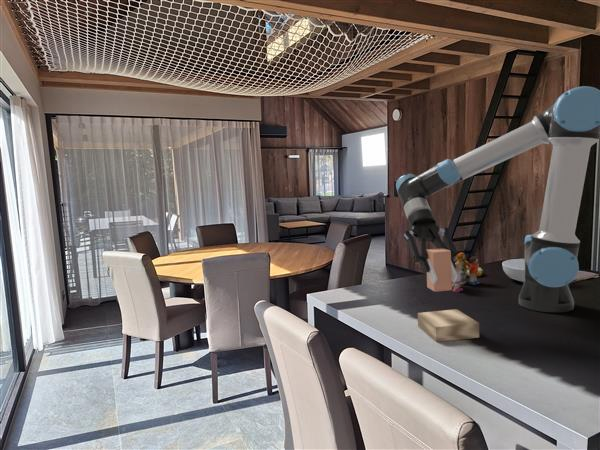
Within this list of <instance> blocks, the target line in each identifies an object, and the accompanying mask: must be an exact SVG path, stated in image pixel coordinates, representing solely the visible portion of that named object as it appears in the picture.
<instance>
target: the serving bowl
mask: <svg viewBox="0 0 600 450" xmlns="http://www.w3.org/2000/svg"><path fill="white" fill-rule="evenodd" d="M501 264H502V270H503V272H504V273H505V274H506V276H507V277H509V278H510V279H513V280H514V281H518V282H520V283H524V281H525V258H514V259H507V260H504V261H502V263H501Z"/></svg>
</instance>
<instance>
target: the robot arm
mask: <svg viewBox="0 0 600 450" xmlns="http://www.w3.org/2000/svg"><path fill="white" fill-rule="evenodd" d="M599 141H600V89H599V88H596V87H593V86H588V85H586V86H585V85H582V86H577V87H573V88H571V89H568V90H567V91H565V92H563V93H561V95H560V96H559V97H558V98H557V99H556V101H555V103H553V104H552V105H551V106H549V107H548V108H546V110H544V111H542V112H541V113H539V114H537V115H534V116H533V119H532V120H531V121H529V122H527V123H526V124H524V125H521V126H520V127H518V128H516V129H513V130H511V131H509V132H508V133H505V134H503V135H501V136H499V137H497V138H495V139H493V140H491V141H489V142H487V143H485V144H483V145H481V146H479V147H477V148H475V149H472V150H471V151H469V152H467V153H465V154H463V155H460V156H459V157H456V158H454V159H453V160H452V159H450V158H446V159H444V160H443V161H441V162H438V163H437V164H436V165H434V166H432V167H430V168H429V169H427V170H426V171H424V172H422V173H421V174H418V175H415V174H412V173H407V174H404V175H402V176H400V177H399V178H398V179H397V181H395V182H396V183H395V187H396V191H397V196H398V197H399V200H400V202H401V206H402V208H403V211H404V213H405V216H406V219H407V222H408V224H409V227H410V229H411V230H405V232H404V235H403V238H404V239H405V241H406V243H407V244H408V248H409V251H410V253H411V254H410V255H411V257H412V260H413V262H414V263H419V265H420V266H422V268H423V269H422V270H423V271H424V272H425V273H427V272H428V274H429V277H430V279H431V282H432V284H435V282H436V281H437V279H438V278H437V276H436V273H435V270H434V268H433V265H432V263H431V260H430V259H427V254H426V250H427V244H426V243H427V242H431V244H432V245H434V246H435V247H436V249H438V248H444V249H447V250H450V251H451V276H452V282H455V281H456V279H457V277H458V275H457V273H456V271H455V268H456V264H455V262H454V259H455V258H456V256H457V255H458V254H459V252H458V250H457V247H456V245H455V243H454V241H453V239H452V237H451V235H450V228H449V227H445V228H441V227H439V226H438V224H437V222H436V219H435V217H434V215H433V212H432V209H431V207H430V206H429V202H428V200H427V198H428V197H430V196H432V195H434V194H436V193H438V192H440V191H441V190H444V189H448V188H450V187H452V186H453V185H455V184H458V183H460V182H461V181H463V180H466V179H468V178H470V177H472V176H474V175H477V174H479V173H481V172H483V171H485V170H488V169H490V168H492V167H494V166H496V165H498V164H501V163H502V162H505V161H507V160H509V159H511V158H513V157H516V156H518V155H520V154H522V153H525V152H527V151H529V150H531V149H533V148H536V147H538V146H540V145H543V144H544V145H550V144H551V145H552V151H551V157H550V163H549V169H548V175H547V182H546V187H545V193H544V200H543V204H542V209H541V210H542V211H541V217H540V221H539V228H538V230H537V231H536V232H534V233H532V234H527V235H526V236H525V237H524V242H523V245H524V259H525V281H524V282H523V285H522V288H521V290H520V292H519V295H518V304H519V305H520V306H521V307H522V308H525V309H528V310H531V311H537V312H543V313H567V312H570V311H572V310H574V308H575V300H574V297H573V294H572V292H571V289H570V287H569V284H571V283H573V282H574V280H575V279H576V278H577V276H578V273H579V269H580V266H579V265H580V264H579V261H578V256H579V249H580V245H581V240H580V239H578V237H577V236H576V229H577V223H578V219H579V218H578V217H579V212H580V207H581V201H582V196H583V190H584V185H585V180H586V175H587V174H586V173H587V168H588V163H589V157H590V152H591V147H592V146H593V145H595V144H596V143H598V142H599ZM414 237H415V238H416V239H418V246H417V243H416V241H415V238H414ZM418 247H419V249H418Z"/></svg>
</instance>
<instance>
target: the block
mask: <svg viewBox="0 0 600 450" xmlns="http://www.w3.org/2000/svg"><path fill="white" fill-rule="evenodd" d="M426 254H427V259H430V260H431V263H432V265H433V268H434V270H435V273H436V276H437V278H438V279H437V281H436V282H435V284H432V282H431V279H430V277H429V274H428V272H426V286H427V288H428V289H430V290H431V291H432V292H435V293H436V292H445V291H452V290H453V288H452V276H451V251H450V250H447V249H444V248H438V249H437V248H429V249H427V248H426Z"/></svg>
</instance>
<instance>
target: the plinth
mask: <svg viewBox="0 0 600 450" xmlns="http://www.w3.org/2000/svg"><path fill="white" fill-rule="evenodd" d="M417 327H418V328H419V329H420V330H422V332H424V333H425V334H427V335H428V336H429V337H430V338H431V339H432V340H433V341H434V342H436V343H438V342H447V341H459V340H467V339H476V338H477V339H478V338H480V322H478V321H477V320H475V319H473V318H472V317H470V316H468V315H467V314H465V313H464V312H462V311H461V310H459V309H456V308H455V309H446V310H445V309H444V310H434V311H425V312H424V311H423V312H417Z"/></svg>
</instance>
